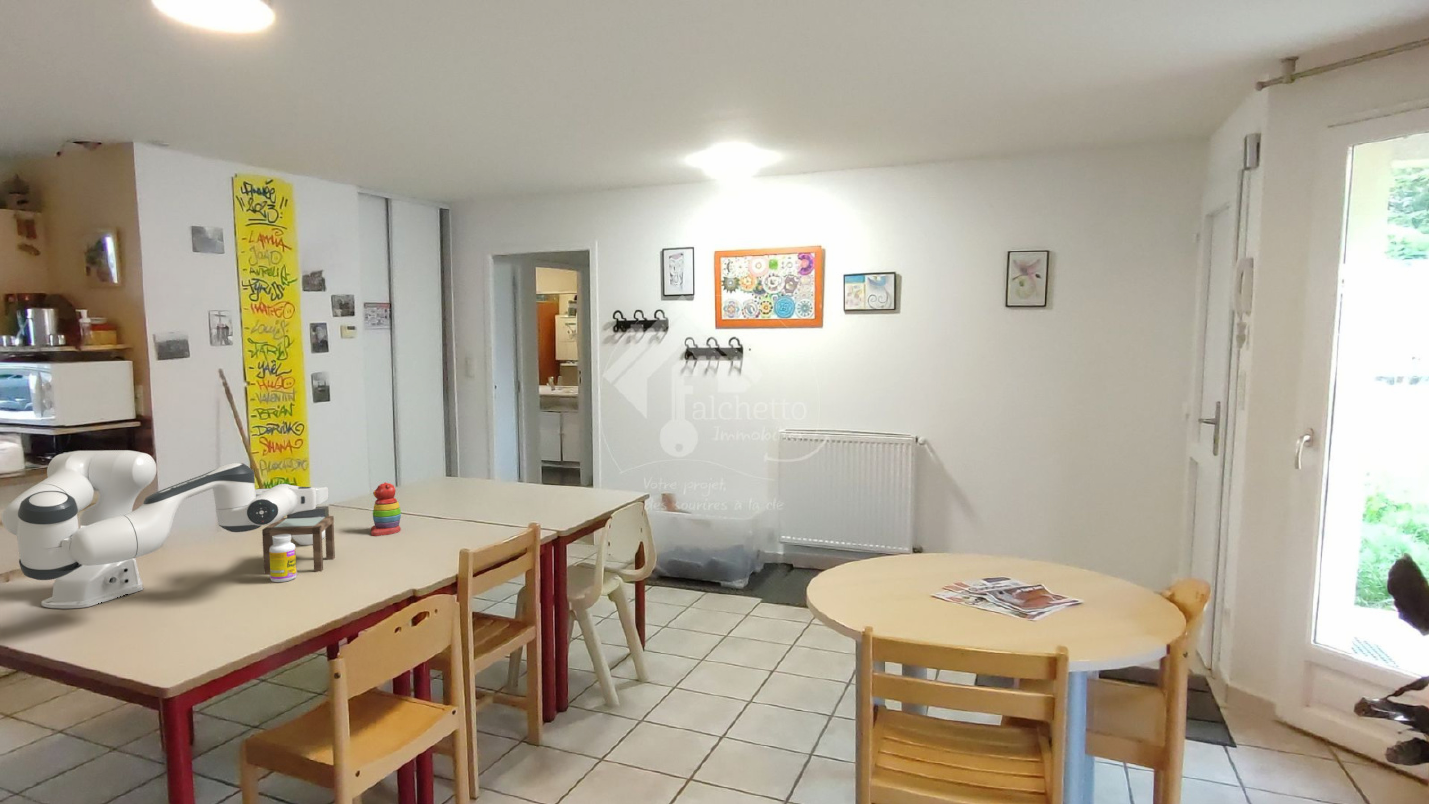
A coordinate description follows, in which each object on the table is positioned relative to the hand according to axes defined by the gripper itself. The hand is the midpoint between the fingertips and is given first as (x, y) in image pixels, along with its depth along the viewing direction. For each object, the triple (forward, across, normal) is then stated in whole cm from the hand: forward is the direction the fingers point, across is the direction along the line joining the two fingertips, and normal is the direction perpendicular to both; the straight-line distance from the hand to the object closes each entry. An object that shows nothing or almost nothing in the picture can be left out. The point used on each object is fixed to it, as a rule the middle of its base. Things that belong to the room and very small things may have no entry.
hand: (298, 490), depth 233 cm
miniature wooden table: (0, 0, -23) cm, 23 cm away
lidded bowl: (+28, -6, -24) cm, 37 cm away
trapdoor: (+3, 0, -13) cm, 14 cm away
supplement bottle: (-13, 0, -24) cm, 27 cm away
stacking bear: (+38, +17, -24) cm, 48 cm away
